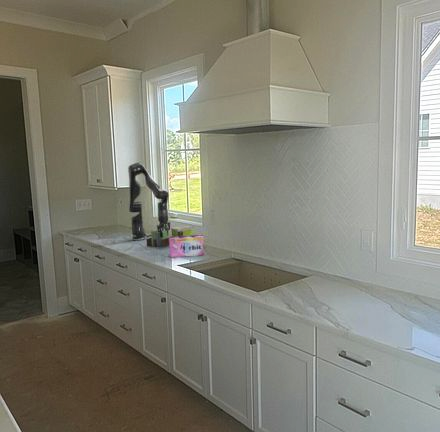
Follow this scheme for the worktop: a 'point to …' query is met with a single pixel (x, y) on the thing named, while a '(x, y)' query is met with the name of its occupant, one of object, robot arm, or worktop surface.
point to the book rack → (149, 243)
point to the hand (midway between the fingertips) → (164, 236)
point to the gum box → (186, 245)
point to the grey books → (158, 239)
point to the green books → (153, 236)
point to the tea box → (182, 231)
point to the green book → (164, 235)
